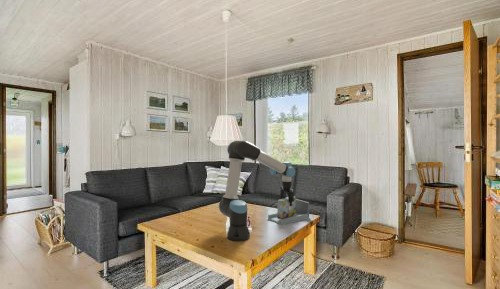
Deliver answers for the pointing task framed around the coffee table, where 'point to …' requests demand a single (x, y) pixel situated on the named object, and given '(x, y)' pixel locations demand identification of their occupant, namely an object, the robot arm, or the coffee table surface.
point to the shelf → (301, 214)
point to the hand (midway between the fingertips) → (286, 208)
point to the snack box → (285, 208)
